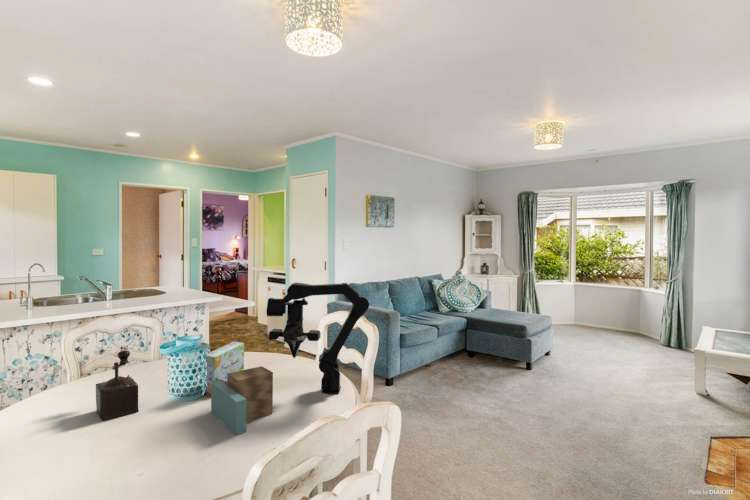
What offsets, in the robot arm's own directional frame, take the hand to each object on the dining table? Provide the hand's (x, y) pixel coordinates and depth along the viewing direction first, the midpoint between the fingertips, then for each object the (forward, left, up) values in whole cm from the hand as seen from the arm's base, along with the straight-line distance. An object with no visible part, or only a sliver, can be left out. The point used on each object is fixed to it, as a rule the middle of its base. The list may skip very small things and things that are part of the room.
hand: (294, 357), depth 155 cm
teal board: (+15, +27, -13) cm, 33 cm away
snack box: (+28, -2, -13) cm, 31 cm away
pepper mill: (+55, +21, -13) cm, 60 cm away
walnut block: (+9, +21, -13) cm, 27 cm away
